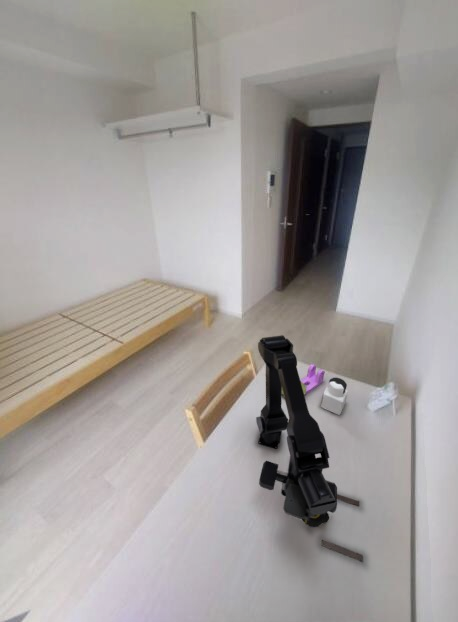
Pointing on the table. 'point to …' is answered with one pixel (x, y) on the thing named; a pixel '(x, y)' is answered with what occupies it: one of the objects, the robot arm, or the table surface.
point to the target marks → (339, 548)
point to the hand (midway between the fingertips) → (293, 502)
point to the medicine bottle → (335, 396)
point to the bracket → (313, 378)
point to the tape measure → (317, 520)
